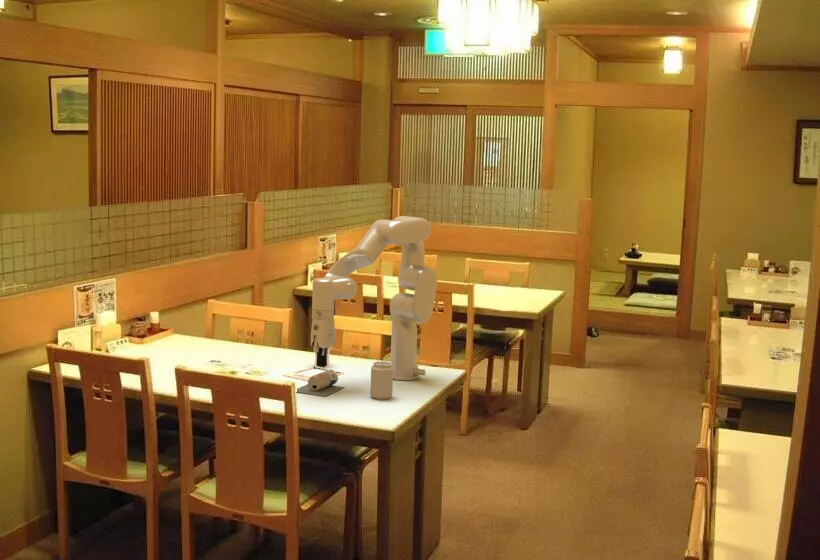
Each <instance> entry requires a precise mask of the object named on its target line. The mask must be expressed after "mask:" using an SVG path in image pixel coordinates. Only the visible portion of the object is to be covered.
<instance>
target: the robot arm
mask: <svg viewBox="0 0 820 560" xmlns="http://www.w3.org/2000/svg"><path fill="white" fill-rule="evenodd" d="M431 233H432V226H431V223H430V221H428V219H426V218H422V217H416V216H409V215H400V216H396V217H395V218H393V220H392V219H378V220H376V221H374V222H373V223H372V225H371V226H370V227H369V229H368V230H367V231H366V233H364V235H363V237H362V238H361V239H360V241H359V242H358V244H357V245H356V246H355V248H353V249H352V250H350V251H349V252H348V253H346V254H345V255H343V256H342V257H341V258H339V259H338V260H336V261H335V262H334V263H333V265H332V266H331V267H330V268H329V269H328V270H327V272H326V273H325V275H324V277H316V278H315V279H313V281H312V294H311V295H312V296H311V297H312V298H311V302H312V303H311V319H312V322H311V328H310V329H311V330H310V346H311V348H313V351H312V352H314V353H315V352H316V355H317V366H319V367H326V366H327V354H328V349H329V347H330V346H331V347H332V346H333V345H335V343H336V325H335V318H334V317H335V300H336V299H340V300H349V299H352V298H353V297H355V295H356V294H357V293H358V284H357V282H356V281H355V279H352V278H350V277H348V276H349V275H351V274H352V273H353V272H355V271H358V270H360V269H363V268H367V267H369V266H372V265H373V264H374V263H375V262H376V261H377V260H378V258H379V257H380V255H381V254H382V252H383V251H384V250H385V248H386V247H387V246H388V245H395V246H401V257H400V263H399V264H400V265H399V269H398V277H397V280H398V281H397V282H398V285H399V286H400V287H401V288H402V289H405V290H409V291H413V292H414V294H413V293H408V292H399V293H396V294H394V295H393V296H392V298H390V299H391V300H390V302H389V314H390V318H391V335H390V336H391V338H390V363H391V366H392V367H393V380H394V379H395V381H415V380H418V379H420V376H426V374H427V372H426V369H425V368H424V369H422V368H419V364H417V349H418V348H417V347H418V346H417V345H418V344H417V342H418V328H417V323H425V322H428V320H430V318H431V316H432V315H433V311H434V305H435V302H436V301H435V300H436V294H437V288H438V278H437V273H436V271H435V270H434V269H432V268H431V267H430V266H424V264H425V263H424V262H425V255H426V250H425V249H426V248H425V244H424V241H426V240H427V239H429V237H430V236H431Z"/></svg>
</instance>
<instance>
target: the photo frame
mask: <svg viewBox="0 0 820 560" xmlns="http://www.w3.org/2000/svg"><path fill="white" fill-rule="evenodd" d="M318 368H319V367H315V368H314V366H311V367H308V368H303V369H300V370H297V371H291V372H288V373H285V374H282V376H283V377H285V378H291V379H295V380H300V381H304V382H308V380H309V378H310V377H311V376H312V375H308V374H302V372H306V371H310V370H313V369H318ZM309 369H310V370H309ZM323 369H325V370H324V371H327V370H330V369H329V368H328V369H327V368H320V369H319V370H323ZM335 371H336V373H337V372H340V373H337V375H338V376H341V374H342V375H344V374H345V371H344V372H343V371H340V370H335Z"/></svg>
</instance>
